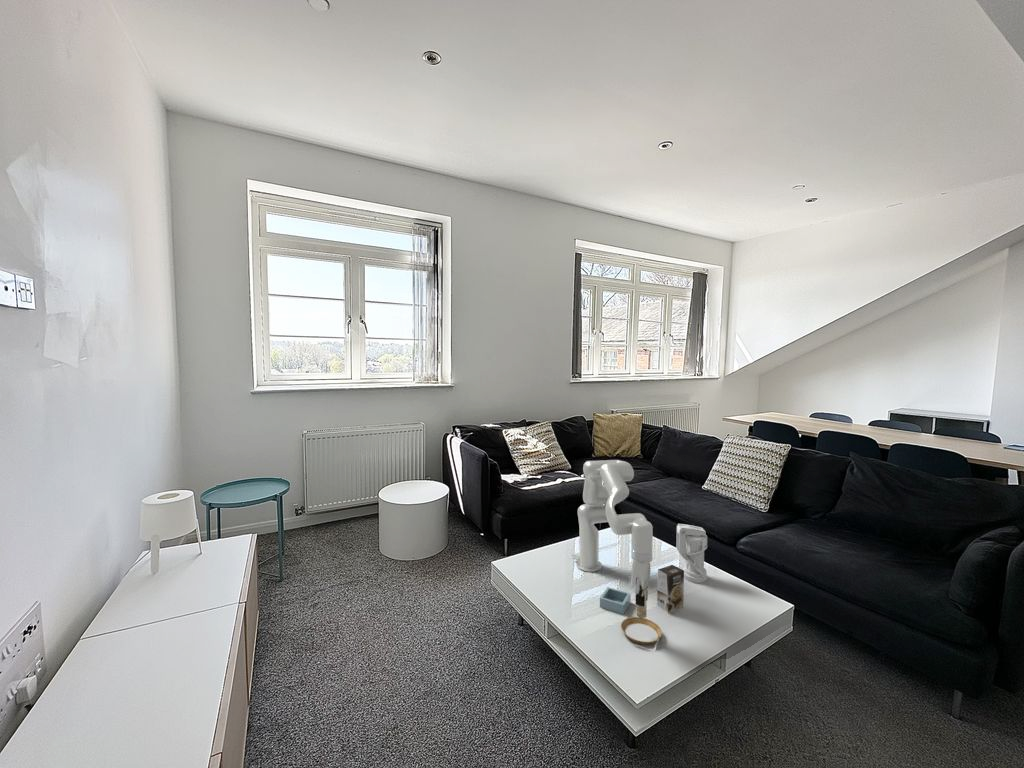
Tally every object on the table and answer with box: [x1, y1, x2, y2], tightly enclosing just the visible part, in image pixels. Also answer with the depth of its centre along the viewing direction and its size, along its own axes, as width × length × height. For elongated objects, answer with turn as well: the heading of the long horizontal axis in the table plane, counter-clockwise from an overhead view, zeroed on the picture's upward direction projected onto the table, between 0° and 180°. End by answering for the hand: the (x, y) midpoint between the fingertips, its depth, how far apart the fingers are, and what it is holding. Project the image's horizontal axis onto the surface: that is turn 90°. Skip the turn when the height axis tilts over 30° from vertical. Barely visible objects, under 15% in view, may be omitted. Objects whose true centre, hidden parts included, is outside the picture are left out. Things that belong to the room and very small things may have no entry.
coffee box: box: [656, 564, 685, 614], centre depth 174 cm, size 9×6×16 cm
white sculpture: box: [676, 523, 708, 584], centre depth 197 cm, size 13×10×25 cm
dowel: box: [636, 585, 648, 619], centre depth 156 cm, size 4×4×12 cm
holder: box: [599, 586, 632, 615], centre depth 175 cm, size 10×10×4 cm
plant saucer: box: [620, 616, 663, 645], centre depth 157 cm, size 15×15×3 cm
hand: (641, 601), depth 156 cm, fingers closed on dowel, 3 cm apart
